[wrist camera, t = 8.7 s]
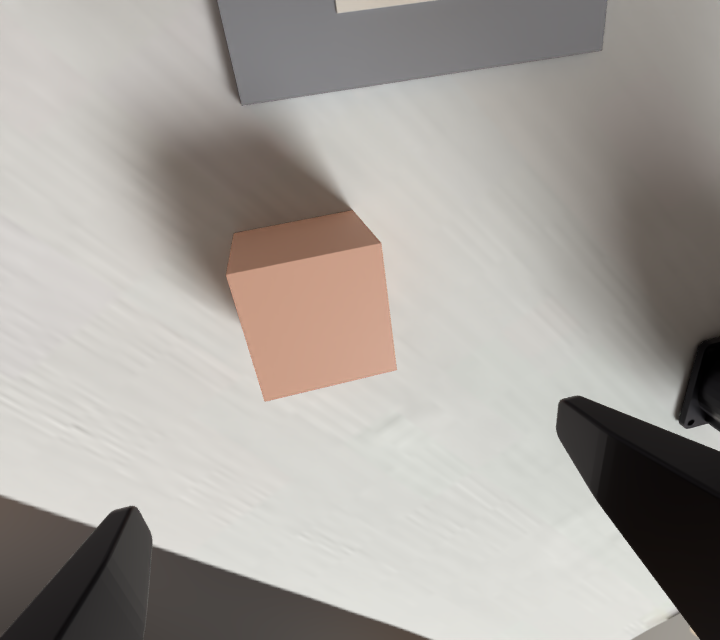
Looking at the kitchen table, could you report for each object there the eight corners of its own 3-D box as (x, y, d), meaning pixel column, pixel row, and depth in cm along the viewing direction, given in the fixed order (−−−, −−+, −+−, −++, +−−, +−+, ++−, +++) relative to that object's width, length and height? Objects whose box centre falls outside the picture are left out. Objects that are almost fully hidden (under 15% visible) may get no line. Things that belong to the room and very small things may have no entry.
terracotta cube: (367, 313, 21) (396, 369, 17) (263, 337, 20) (264, 401, 16) (352, 209, 19) (381, 243, 14) (233, 232, 18) (225, 274, 14)
